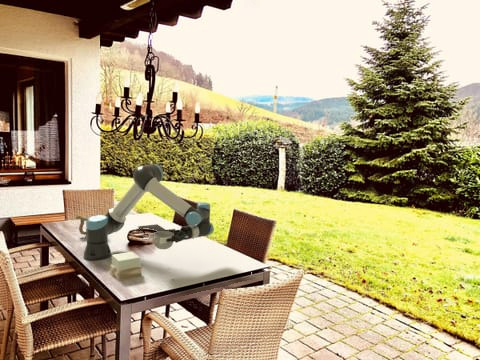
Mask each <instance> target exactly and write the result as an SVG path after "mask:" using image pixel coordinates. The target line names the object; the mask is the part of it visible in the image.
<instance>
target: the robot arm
mask: <svg viewBox="0 0 480 360" xmlns="http://www.w3.org/2000/svg"><path fill="white" fill-rule="evenodd" d="M163 178H164V171H163V169H162V167H161V166H160V165H158V164H154V163H150V164H145V165H140V166H138V167H137V168H136V169H135V170H134V172H133V174H132V179H133V181H134V183H133V184H132V186H131V187H130V188H129V189H128V191H127V192H126V193H125V195H123V197H122V198H121V199H120V200H119V202H118V203H117V204H116V206H114V208H110V209H109V210H108V211H107V212H106V214H105V215H103V214H97V215H93V216H92V215H91V216H89V217H90V218H89V217H87V218H88V219H87V221H86V222H87V224H86V223H85V224H86V225H85V227H86V229H87V239H86V246H85V248H84V251H83V258H84V259H85V260H88V259H89V260H90V261H100V260H106V259H108V258H110V257H112V250H111V248H110V245H109V237H108V236H109V235H112V234H114V233H116V232H119V231H120V230H122V228H123V227H124V226H125V222H126V220H127V216H128V214H129V213H130V212H131V211H132V210H133V208H135V206H137V204H138V202H139V201H141V199H142V198H143V197H144V195H145V193H147V192H149V193H150V194H151V195H153V197H155V198H157V199H158V200H159V201H160V202H162V203H163V204H164V205H166V206H168V207H169V208H170V209H172V210H173V211H174V212H175V213H177V214H178V215H180V216H181V217H182V218H184V219H185V221H186V224H187V225H184V226H181V228H180V229H176V228H172V229H170V228H169V229H165V230H158V231H169V232H172V233H174V236H172V237H165V238H160V244H163V243H168V242H173V243H176V244H177V243H179V242H182V241H186V240H190V239H191V240H194V239H196V238H201V237H208V236H210V235H212V234H213V233H214V229H215V228H214V225H213V223H212V222H211V220H210V219H211V204H210V202H198V203H197V204H196V208H195V207H193V205H190V204H189V203H188V202H187V201H185V200H184V199H183V198H181V197H180V196H178V195H177V194H175V193H174V192H173V191H172V190H170V189H168V187H166V186H165V185H163V184H162V183H161V182H162V181H163ZM153 237H154V233H149V236H148V239H153ZM89 260H88V261H89Z"/></svg>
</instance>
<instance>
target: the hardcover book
mask: <svg viewBox="0 0 480 360" xmlns="http://www.w3.org/2000/svg"><path fill="white" fill-rule="evenodd" d="M137 227H138V228H140V229H143V228H149V229H154V230H157V231H158V230H166V229H165V228H164V227H163V226H160V225H159V224H158V223H157V224H156V223H155V224H148V225H138V226H137ZM140 229H139V230H140Z"/></svg>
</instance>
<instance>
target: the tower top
mask: <svg viewBox="0 0 480 360" xmlns="http://www.w3.org/2000/svg"><path fill="white" fill-rule="evenodd" d="M111 264H112V265H113V266H114V267H115V268H116V269H117V270H125V269H130V268H136V267H140V266H141V265H140V264H141V259H140V256H139V255H137V254H136V253H135V252H134V251H128V252H122V253H115V254H111Z"/></svg>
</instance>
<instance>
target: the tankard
mask: <svg viewBox="0 0 480 360" xmlns="http://www.w3.org/2000/svg"><path fill="white" fill-rule="evenodd" d="M90 217H91V216H89V217H86V218H85V217H83V216H81V215H77V216H75V219H76V220H80V221H79V222H80V223H79V227H78V231H79V233H80V235H83V236H84V238H85V239H86V238H87V228H86V229H85V231H84V230H83V228H84V225H85V224H87V219H88V218H90Z"/></svg>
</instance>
